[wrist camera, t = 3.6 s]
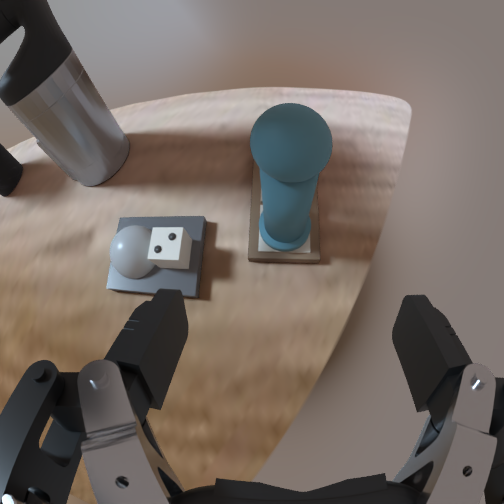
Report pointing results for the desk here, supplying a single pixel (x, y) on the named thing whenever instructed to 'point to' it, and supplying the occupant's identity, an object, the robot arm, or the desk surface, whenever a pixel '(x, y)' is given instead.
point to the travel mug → (8, 172)
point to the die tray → (165, 275)
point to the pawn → (289, 170)
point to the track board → (264, 253)
